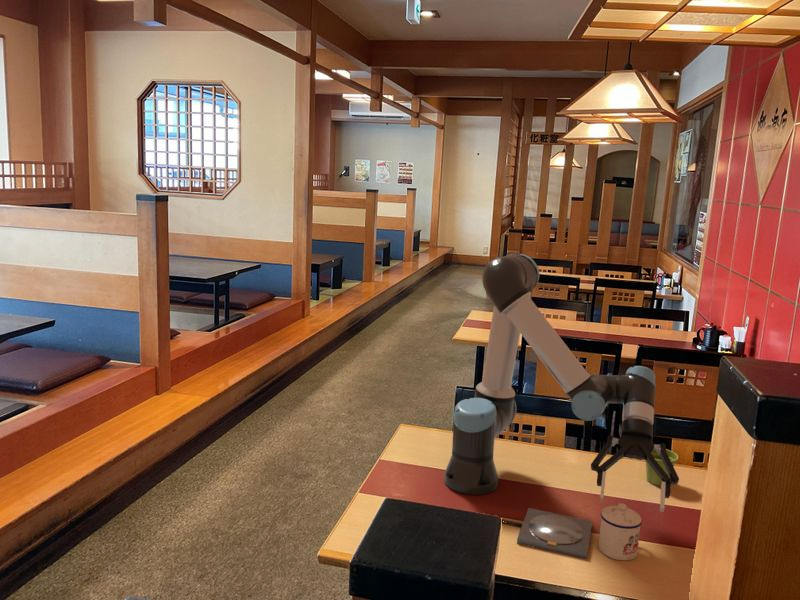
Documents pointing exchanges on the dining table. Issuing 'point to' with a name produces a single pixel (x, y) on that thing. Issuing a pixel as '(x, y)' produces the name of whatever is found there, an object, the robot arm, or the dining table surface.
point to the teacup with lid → (619, 532)
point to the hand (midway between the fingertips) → (631, 504)
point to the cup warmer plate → (555, 532)
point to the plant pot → (651, 474)
